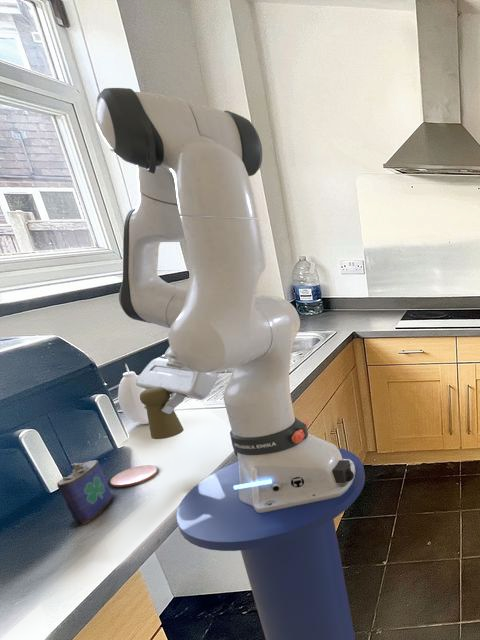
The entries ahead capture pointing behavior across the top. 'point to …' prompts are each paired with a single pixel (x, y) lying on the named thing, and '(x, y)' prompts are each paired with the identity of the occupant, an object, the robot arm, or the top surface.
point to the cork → (160, 414)
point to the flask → (85, 491)
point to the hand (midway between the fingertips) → (156, 411)
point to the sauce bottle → (131, 398)
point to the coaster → (133, 476)
